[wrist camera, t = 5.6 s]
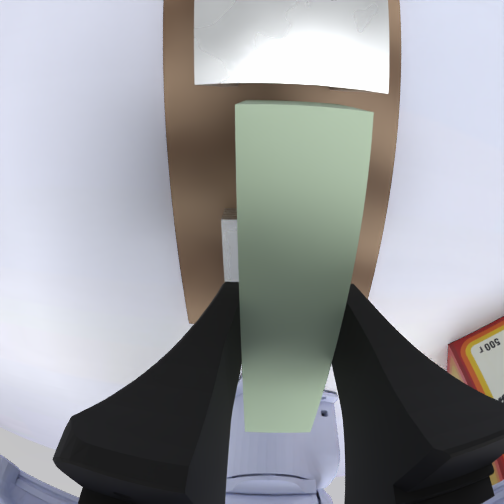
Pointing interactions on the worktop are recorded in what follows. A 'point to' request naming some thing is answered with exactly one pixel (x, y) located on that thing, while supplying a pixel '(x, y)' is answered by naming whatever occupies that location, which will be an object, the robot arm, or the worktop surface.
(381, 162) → the board
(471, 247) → the worktop surface
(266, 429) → the green long rectangular block
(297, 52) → the end caps
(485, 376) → the baking soda box
